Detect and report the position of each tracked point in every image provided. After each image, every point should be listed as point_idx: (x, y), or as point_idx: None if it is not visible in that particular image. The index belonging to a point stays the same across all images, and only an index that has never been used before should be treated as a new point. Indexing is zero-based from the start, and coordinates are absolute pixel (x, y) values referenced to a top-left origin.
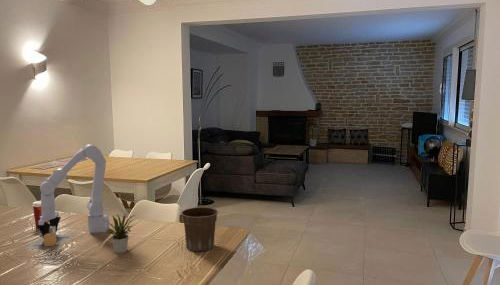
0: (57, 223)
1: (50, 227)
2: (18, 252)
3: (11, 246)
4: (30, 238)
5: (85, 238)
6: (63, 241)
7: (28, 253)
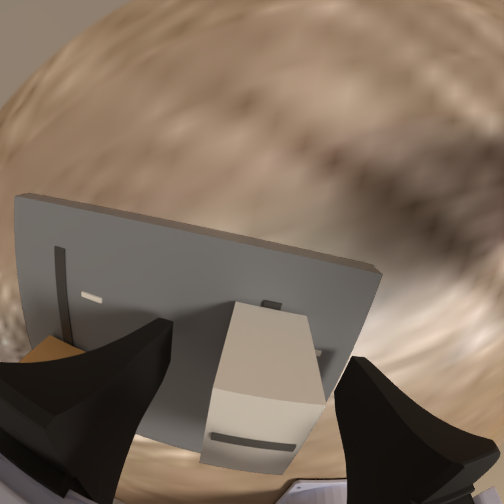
0: (350, 484)
1: (234, 450)
2: (24, 158)
3: (153, 23)
4: (366, 110)
5: (240, 481)
6: (146, 429)
7: (11, 238)
